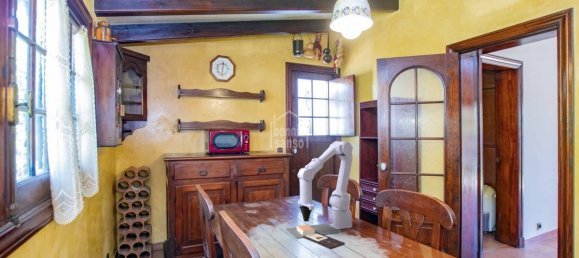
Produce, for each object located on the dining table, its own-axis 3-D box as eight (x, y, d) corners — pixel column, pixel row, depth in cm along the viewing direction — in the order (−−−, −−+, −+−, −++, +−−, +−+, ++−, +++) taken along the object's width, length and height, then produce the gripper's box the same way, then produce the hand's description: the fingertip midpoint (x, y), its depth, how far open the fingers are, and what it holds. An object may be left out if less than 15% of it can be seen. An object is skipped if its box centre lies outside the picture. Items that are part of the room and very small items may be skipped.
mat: (325, 224, 160) (325, 223, 160) (338, 232, 147) (338, 231, 147) (286, 229, 152) (286, 228, 152) (296, 238, 139) (296, 237, 139)
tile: (307, 224, 152) (314, 229, 144) (307, 228, 152) (314, 233, 144) (296, 225, 150) (302, 230, 142) (296, 230, 150) (303, 235, 142)
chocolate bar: (330, 248, 127) (302, 236, 141) (330, 250, 127) (302, 238, 141) (344, 242, 132) (316, 232, 147) (344, 244, 132) (316, 233, 147)
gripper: (292, 191, 152) (293, 218, 152) (304, 197, 138) (304, 226, 138) (305, 189, 154) (306, 216, 154) (318, 195, 141) (318, 224, 141)
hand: (306, 221), depth 146 cm, fingers closed
